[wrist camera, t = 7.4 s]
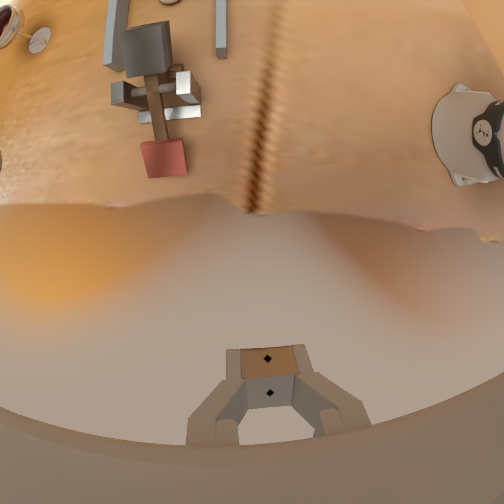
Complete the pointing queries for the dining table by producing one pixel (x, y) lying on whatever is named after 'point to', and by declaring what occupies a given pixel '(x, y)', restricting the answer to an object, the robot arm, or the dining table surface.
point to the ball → (168, 1)
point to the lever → (155, 93)
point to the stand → (184, 89)
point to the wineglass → (20, 29)
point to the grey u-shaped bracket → (118, 24)
